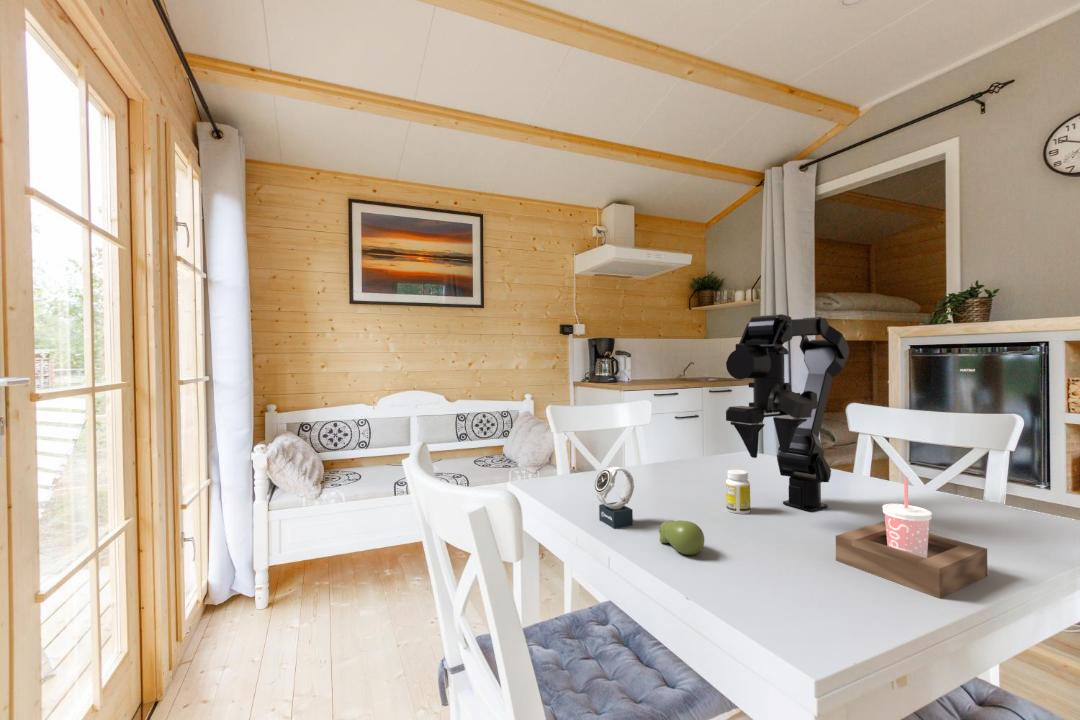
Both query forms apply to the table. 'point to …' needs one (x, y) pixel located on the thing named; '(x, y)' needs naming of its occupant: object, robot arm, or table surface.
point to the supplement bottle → (738, 492)
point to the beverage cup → (907, 526)
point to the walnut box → (913, 560)
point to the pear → (682, 536)
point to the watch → (616, 511)
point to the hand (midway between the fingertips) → (769, 455)
